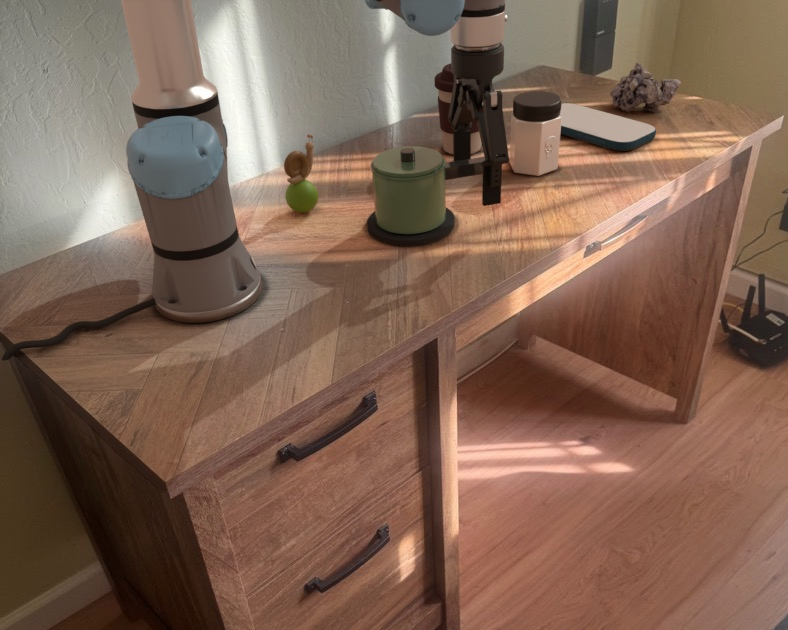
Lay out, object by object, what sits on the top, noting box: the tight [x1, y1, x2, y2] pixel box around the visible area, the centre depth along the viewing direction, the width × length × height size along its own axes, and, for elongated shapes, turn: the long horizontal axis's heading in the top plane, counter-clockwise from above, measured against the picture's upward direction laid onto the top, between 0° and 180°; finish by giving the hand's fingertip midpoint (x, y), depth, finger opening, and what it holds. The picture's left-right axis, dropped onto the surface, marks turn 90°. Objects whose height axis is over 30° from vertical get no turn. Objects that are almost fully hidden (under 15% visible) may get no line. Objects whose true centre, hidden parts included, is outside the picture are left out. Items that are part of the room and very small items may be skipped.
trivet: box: [366, 207, 456, 247], centre depth 122 cm, size 14×14×1 cm
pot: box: [369, 145, 485, 234], centre depth 119 cm, size 12×19×11 cm, turn 105°
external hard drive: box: [560, 102, 657, 152], centre depth 148 cm, size 24×12×2 cm, turn 40°
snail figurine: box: [283, 133, 319, 214], centre depth 125 cm, size 5×6×12 cm
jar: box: [509, 90, 562, 177], centre depth 134 cm, size 9×8×12 cm
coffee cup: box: [433, 62, 482, 155], centre depth 141 cm, size 10×10×15 cm
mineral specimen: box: [609, 61, 682, 113], centre depth 155 cm, size 12×9×10 cm
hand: (476, 186), depth 121 cm, fingers open, 13 cm apart
